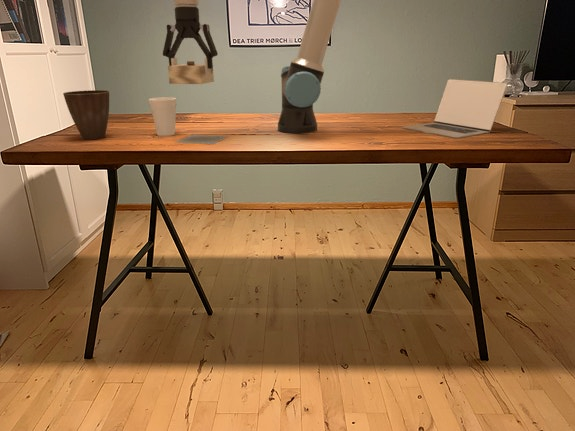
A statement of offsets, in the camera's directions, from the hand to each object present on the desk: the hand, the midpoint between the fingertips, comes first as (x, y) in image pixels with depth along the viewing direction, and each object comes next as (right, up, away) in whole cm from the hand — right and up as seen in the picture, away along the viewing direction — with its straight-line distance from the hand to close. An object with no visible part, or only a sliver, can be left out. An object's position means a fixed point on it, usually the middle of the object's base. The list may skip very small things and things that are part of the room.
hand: (191, 78), depth 153 cm
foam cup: (-13, -16, +15) cm, 26 cm away
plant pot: (-38, -18, +13) cm, 44 cm away
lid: (0, -1, 0) cm, 1 cm away
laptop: (+93, -14, +19) cm, 96 cm away
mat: (+2, -19, +6) cm, 20 cm away
